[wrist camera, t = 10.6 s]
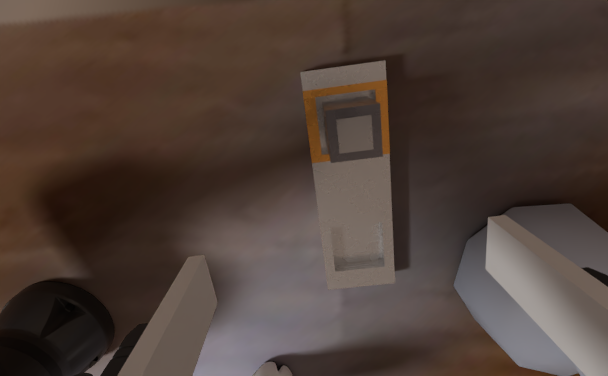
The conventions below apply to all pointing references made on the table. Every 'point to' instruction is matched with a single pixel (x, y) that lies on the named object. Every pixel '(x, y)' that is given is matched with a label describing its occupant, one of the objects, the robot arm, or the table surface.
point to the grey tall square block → (353, 129)
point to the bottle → (503, 308)
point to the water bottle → (272, 370)
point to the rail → (351, 182)
